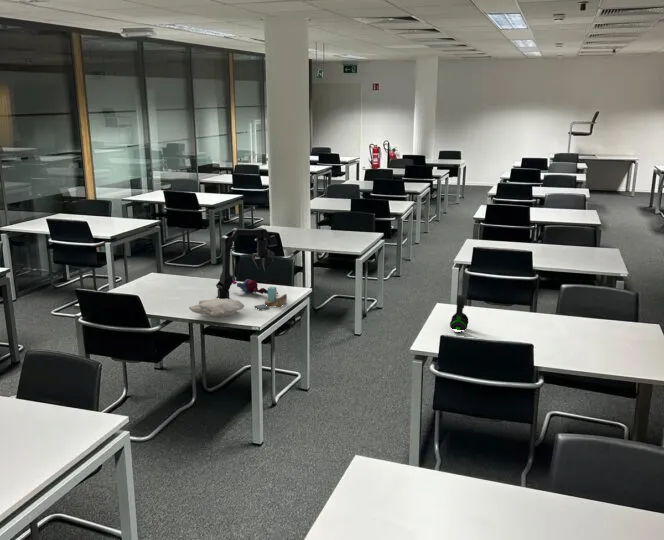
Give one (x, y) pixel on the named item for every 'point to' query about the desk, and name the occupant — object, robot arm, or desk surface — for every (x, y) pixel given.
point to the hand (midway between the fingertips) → (262, 270)
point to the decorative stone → (217, 307)
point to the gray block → (261, 307)
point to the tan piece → (277, 301)
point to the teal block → (271, 293)
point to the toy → (250, 287)
